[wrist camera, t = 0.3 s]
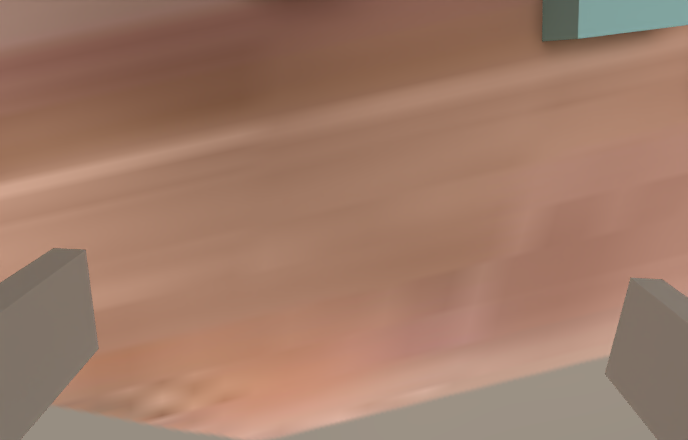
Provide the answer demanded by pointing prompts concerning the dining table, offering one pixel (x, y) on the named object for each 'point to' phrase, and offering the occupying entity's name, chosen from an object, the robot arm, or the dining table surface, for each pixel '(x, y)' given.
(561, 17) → the teal block
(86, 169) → the dining table surface
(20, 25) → the dining table surface
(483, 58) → the dining table surface
